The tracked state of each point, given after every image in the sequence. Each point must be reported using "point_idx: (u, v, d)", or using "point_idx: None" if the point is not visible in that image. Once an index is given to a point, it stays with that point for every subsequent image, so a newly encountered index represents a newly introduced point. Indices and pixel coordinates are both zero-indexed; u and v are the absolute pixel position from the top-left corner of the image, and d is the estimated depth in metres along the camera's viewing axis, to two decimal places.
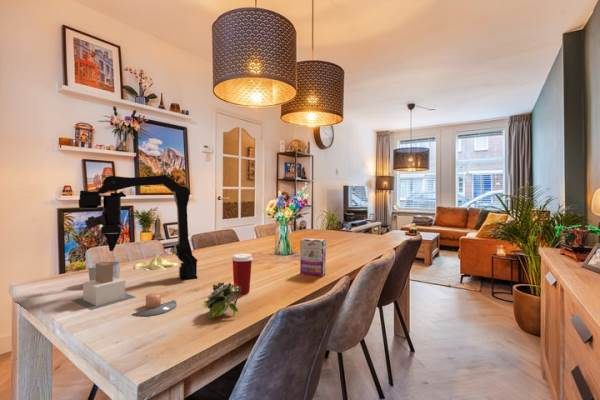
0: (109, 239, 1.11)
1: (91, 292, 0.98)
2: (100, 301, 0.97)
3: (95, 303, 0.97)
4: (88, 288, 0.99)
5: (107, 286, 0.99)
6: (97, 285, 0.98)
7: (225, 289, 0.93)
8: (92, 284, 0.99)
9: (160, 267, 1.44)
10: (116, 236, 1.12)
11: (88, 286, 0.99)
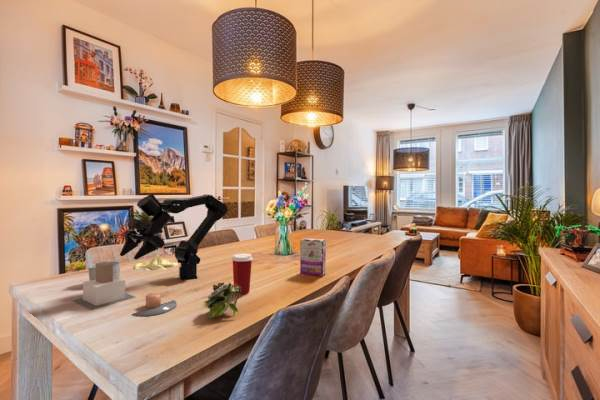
0: (144, 247, 1.08)
1: (91, 292, 0.98)
2: (100, 301, 0.97)
3: (95, 303, 0.97)
4: (88, 288, 0.99)
5: (107, 286, 0.99)
6: (97, 285, 0.98)
7: (225, 289, 0.93)
8: (92, 284, 0.99)
9: (160, 267, 1.44)
10: (151, 249, 1.10)
11: (88, 286, 0.99)
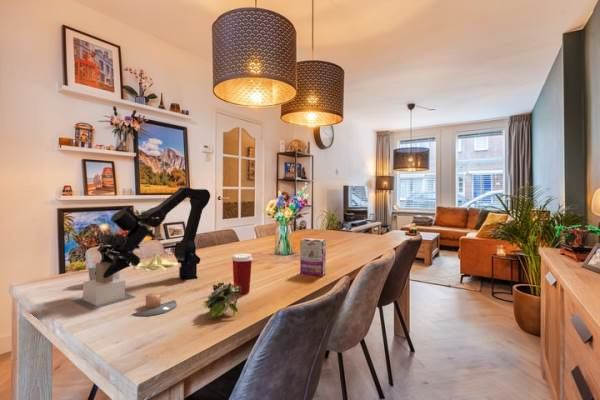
0: (115, 265, 1.01)
1: (91, 292, 0.98)
2: (100, 301, 0.97)
3: (95, 303, 0.97)
4: (88, 288, 0.99)
5: (107, 286, 0.99)
6: (97, 285, 0.98)
7: (225, 289, 0.93)
8: (92, 284, 0.99)
9: (160, 267, 1.44)
10: (122, 266, 1.03)
11: (88, 286, 0.99)
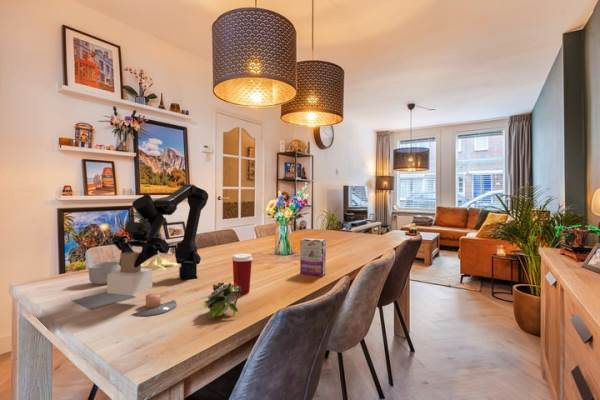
0: (144, 253, 0.98)
1: (123, 283, 0.93)
2: (135, 291, 0.94)
3: (131, 293, 0.93)
4: (118, 279, 0.94)
5: (140, 275, 0.96)
6: (131, 275, 0.94)
7: (225, 289, 0.93)
8: (123, 274, 0.94)
9: (160, 267, 1.44)
10: (150, 254, 1.01)
11: (118, 277, 0.94)
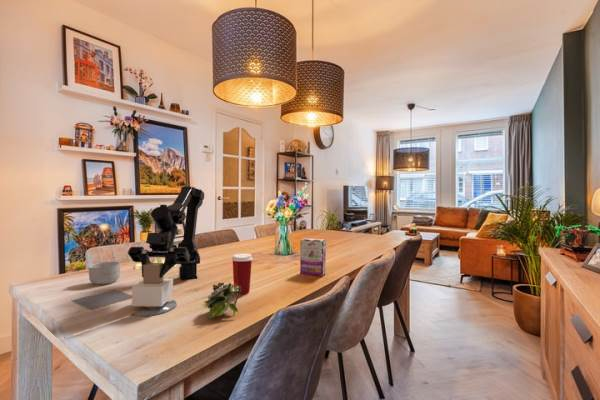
0: (168, 263, 0.99)
1: (151, 294, 0.93)
2: (163, 301, 0.94)
3: (159, 304, 0.93)
4: (144, 291, 0.93)
5: (166, 285, 0.96)
6: (158, 286, 0.94)
7: (225, 289, 0.93)
8: (150, 286, 0.94)
9: None
10: (172, 264, 1.01)
11: (144, 289, 0.93)
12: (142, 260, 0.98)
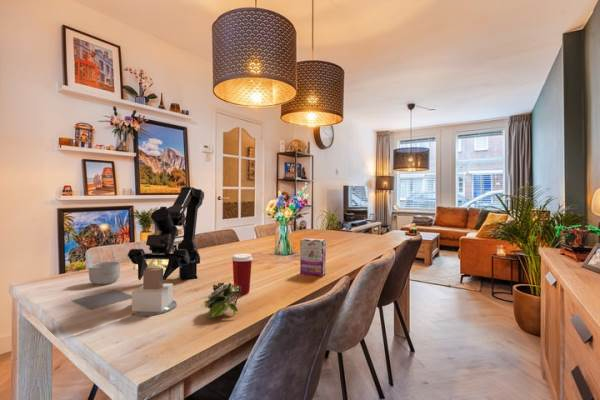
0: (171, 266, 0.99)
1: (151, 299, 0.93)
2: (163, 307, 0.94)
3: (159, 309, 0.93)
4: (144, 296, 0.93)
5: (166, 290, 0.96)
6: (158, 291, 0.94)
7: (225, 289, 0.93)
8: (150, 291, 0.93)
9: (160, 267, 1.44)
10: (175, 266, 1.01)
11: (144, 294, 0.93)
12: (138, 262, 0.98)
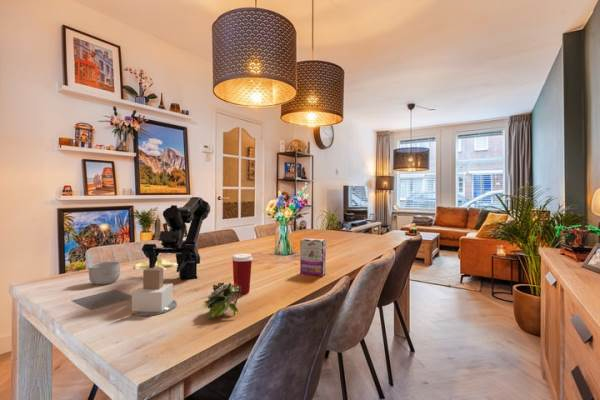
0: (184, 259, 1.08)
1: (151, 299, 0.93)
2: (163, 307, 0.94)
3: (159, 309, 0.93)
4: (144, 296, 0.93)
5: (166, 290, 0.96)
6: (158, 291, 0.94)
7: (225, 289, 0.93)
8: (150, 291, 0.93)
9: (160, 267, 1.44)
10: (187, 260, 1.11)
11: (144, 294, 0.93)
12: (149, 256, 1.08)
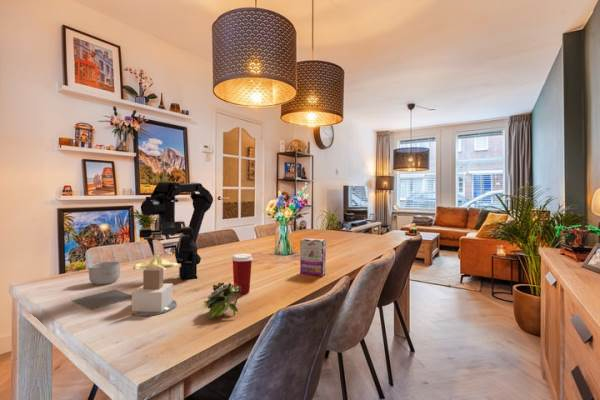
0: None
1: (151, 299, 0.93)
2: (163, 307, 0.94)
3: (159, 309, 0.93)
4: (144, 296, 0.93)
5: (166, 290, 0.96)
6: (158, 291, 0.94)
7: (225, 289, 0.93)
8: (150, 291, 0.93)
9: (160, 267, 1.44)
10: None
11: (144, 294, 0.93)
12: (149, 242, 1.13)
